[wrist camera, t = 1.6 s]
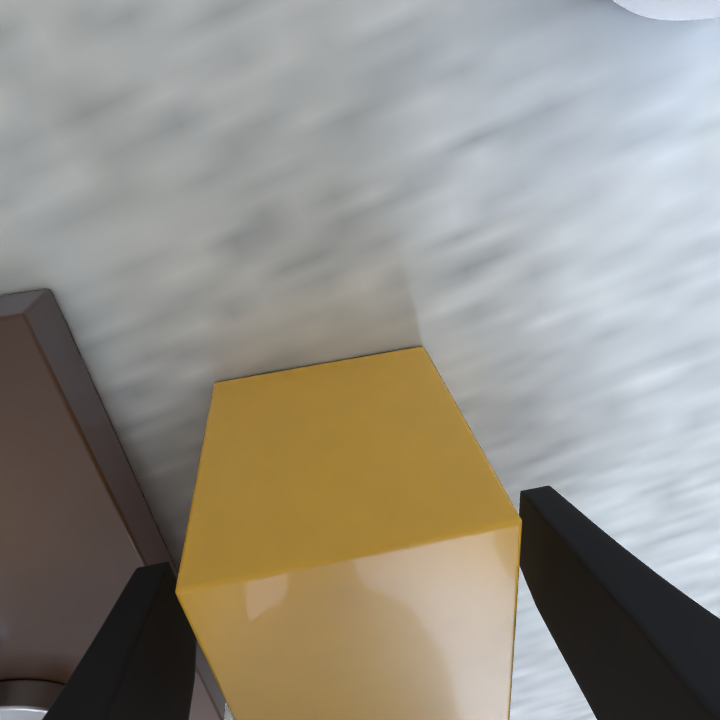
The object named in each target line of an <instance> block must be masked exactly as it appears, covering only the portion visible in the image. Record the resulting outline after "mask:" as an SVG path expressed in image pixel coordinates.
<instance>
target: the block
mask: <svg viewBox="0 0 720 720" xmlns="http://www.w3.org/2000/svg"><path fill="white" fill-rule="evenodd" d="M521 532H522V520H521V518H520V516H519V514H518V513H517V511H516V509H515V507H514V506H513V504H512V502H511V500H510V498H509V497H508V495H507V493H506V491H505V490H504V488H503V486H502V484H501V483H500V481H499V479H498V477H497V475H496V474H495V472H494V470H493V468H492V467H491V465H490V463H489V461H488V460H487V458H486V456H485V454H484V452H483V451H482V449H481V447H480V445H479V444H478V442H477V440H476V438H475V436H474V435H473V433H472V431H471V429H470V428H469V426H468V424H467V422H466V421H465V419H464V417H463V415H462V413H461V412H460V410H459V408H458V406H457V405H456V403H455V401H454V399H453V398H452V396H451V394H450V392H449V390H448V389H447V387H446V385H445V383H444V382H443V380H442V378H441V376H440V374H439V373H438V371H437V369H436V367H435V366H434V364H433V362H432V360H431V359H430V357H429V355H428V353H427V351H426V350H425V348H424V347H415V348H410V349H404V350H398V351H393V352H387V353H381V354H376V355H370V356H364V357H359V358H353V359H347V360H341V361H336V362H330V363H324V364H319V365H313V366H307V367H302V368H296V369H290V370H285V371H279V372H273V373H267V374H262V375H256V376H250V377H245V378H239V379H233V380H228V381H222V382H217V383H215V384H214V387H213V392H212V398H211V403H210V408H209V414H208V419H207V424H206V430H205V435H204V440H203V446H202V451H201V456H200V462H199V467H198V472H197V478H196V483H195V488H194V494H193V499H192V504H191V510H190V515H189V520H188V526H187V531H186V536H185V541H184V547H183V552H182V557H181V563H180V568H179V573H178V579H177V584H176V590H175V593H176V595H177V598H178V600H179V602H180V604H181V606H182V608H183V610H184V613H185V615H186V617H187V619H188V621H189V623H190V625H191V628H192V630H193V632H194V634H195V636H196V638H197V640H198V643H199V645H200V647H201V649H202V651H203V653H204V655H205V658H206V660H207V662H208V664H209V666H210V668H211V670H212V673H213V675H214V677H215V679H216V681H217V683H218V685H219V688H220V690H221V692H222V694H223V696H224V698H225V701H226V703H227V705H228V707H229V709H230V711H231V713H232V716H233V718H234V720H509V718H510V702H511V687H512V671H513V656H514V640H515V625H516V609H517V594H518V578H519V563H520V547H521Z"/></svg>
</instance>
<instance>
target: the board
mask: <svg viewBox="0 0 720 720" xmlns="http://www.w3.org/2000/svg"><path fill="white" fill-rule="evenodd" d="M164 562H169V563H170V566H171V568H172V570H173V572H174V574H175V576H176V579H178V573H177V570H176V568H175V566H174V564H173V562H172V559H171V557H170V555H169V553H168V550H167V548H166V546H165V544H164V541H163V539H162V537H161V535H160V533H159V530H158V528H157V526H156V524H155V521H154V519H153V517H152V515H151V513H150V510H149V508H148V506H147V504H146V501H145V499H144V497H143V495H142V492H141V490H140V488H139V486H138V484H137V481H136V479H135V477H134V475H133V472H132V470H131V468H130V466H129V463H128V461H127V459H126V457H125V455H124V452H123V450H122V448H121V446H120V443H119V441H118V439H117V437H116V435H115V432H114V430H113V428H112V426H111V423H110V421H109V419H108V417H107V414H106V412H105V410H104V408H103V406H102V403H101V401H100V399H99V397H98V394H97V392H96V390H95V388H94V386H93V383H92V381H91V379H90V377H89V374H88V372H87V370H86V368H85V365H84V363H83V361H82V359H81V357H80V354H79V352H78V350H77V348H76V345H75V343H74V341H73V339H72V336H71V334H70V332H69V330H68V328H67V325H66V323H65V321H64V319H63V316H62V314H61V312H60V310H59V308H58V305H57V303H56V301H55V299H54V296H53V294H52V292H51V291H50V289H43V290H37V291H30V292H24V293H18V294H11V295H5V296H0V682H1V681H8V680H42V681H49V682H55V683H59V684H63V685H65V684H66V683H67V681H68V679H69V678H70V676H71V675H72V673H73V672H74V670H75V668H76V667H77V665H78V664H79V662H80V660H81V659H82V657H83V656H84V654H85V653H86V651H87V649H88V648H89V646H90V645H91V643H92V641H93V640H94V638H95V636H96V635H97V633H98V631H99V630H100V628H101V626H102V625H103V623H104V621H105V620H106V618H107V616H108V615H109V613H110V611H111V610H112V608H113V606H114V605H115V603H116V601H117V600H118V598H119V596H120V595H121V593H122V591H123V589H124V588H125V586H126V584H127V583H128V581H129V579H130V578H131V576H132V574H133V573H134V571H135V570H136V569H137V568H139V567H144V566H149V565H154V564H159V563H164ZM224 713H225V698H224V696H223V694H222V692H221V690H220V688H219V685H218V683H217V681H216V679H215V677H214V675H213V673H212V670H211V668H210V666H209V664H208V662H207V660H206V658H205V655H204V653H203V651H202V649H201V647H200V645H199V643H198V640H197V646H196V666H195V681H194V688H193V695H192V702H191V708H190V715H189V720H224Z"/></svg>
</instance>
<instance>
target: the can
mask: <svg viewBox="0 0 720 720" xmlns="http://www.w3.org/2000/svg"><path fill="white" fill-rule="evenodd" d="M612 1H614V2H615V3H617V4H618V5H620V6H621V7H623V8H625V9H627V10H628V11H631V12H633V13H635V14H638V15H640V16H644V17H648V18H652V19H659V20H699V19H710V18H720V0H612Z"/></svg>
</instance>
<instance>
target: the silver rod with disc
mask: <svg viewBox="0 0 720 720" xmlns="http://www.w3.org/2000/svg"><path fill="white" fill-rule="evenodd" d="M64 686H65V685H63V684H59V683H55V682H49V681H42V680H8V681H1V682H0V720H42V719H43V717H44V716H45V714H46V713H47V711H48V710H49V709H50V707H51V706H52V704H53V703H54V701H55V700H56V698H57V697H58V695H59V694H60V692H61V690H62V689H63V687H64Z"/></svg>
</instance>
